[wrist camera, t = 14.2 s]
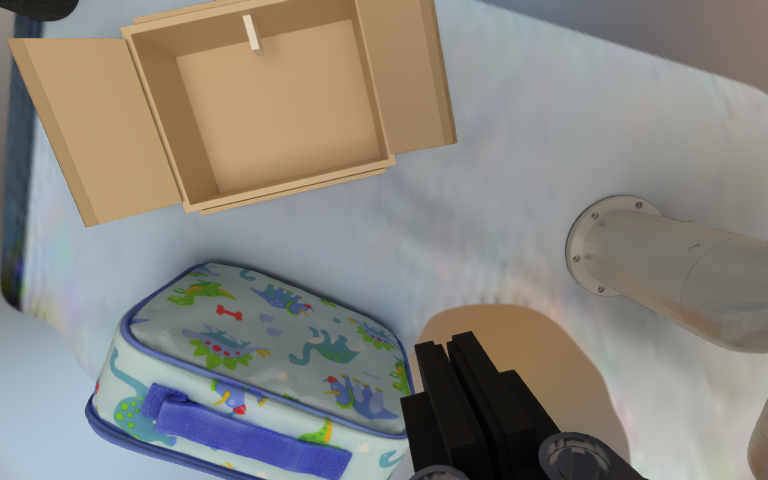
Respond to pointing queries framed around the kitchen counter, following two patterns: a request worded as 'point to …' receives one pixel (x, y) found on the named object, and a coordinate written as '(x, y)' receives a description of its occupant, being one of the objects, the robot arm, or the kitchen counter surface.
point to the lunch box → (253, 382)
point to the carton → (260, 98)
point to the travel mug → (40, 8)
